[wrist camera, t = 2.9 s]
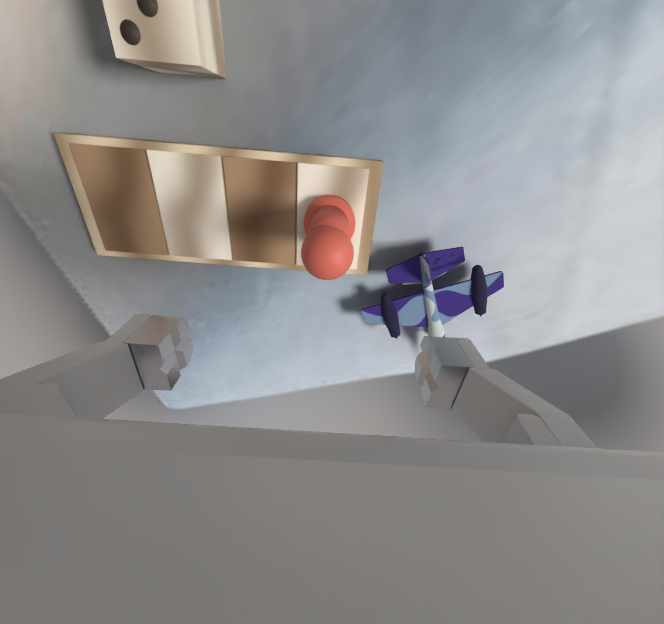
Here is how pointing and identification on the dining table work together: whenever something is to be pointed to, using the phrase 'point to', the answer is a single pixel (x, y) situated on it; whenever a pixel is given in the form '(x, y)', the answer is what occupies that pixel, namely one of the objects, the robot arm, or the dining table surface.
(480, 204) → the dining table surface
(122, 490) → the robot arm
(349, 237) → the pawn
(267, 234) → the track board
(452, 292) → the toy airplane
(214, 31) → the die
